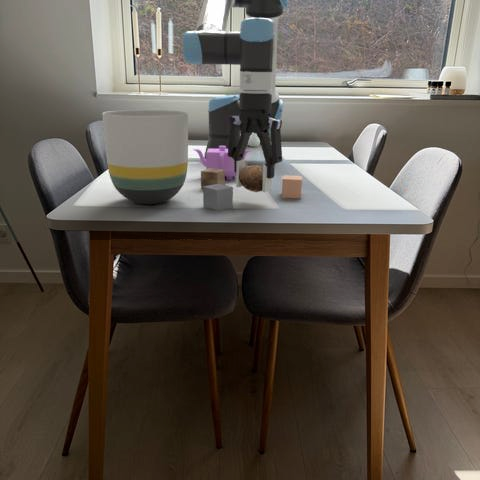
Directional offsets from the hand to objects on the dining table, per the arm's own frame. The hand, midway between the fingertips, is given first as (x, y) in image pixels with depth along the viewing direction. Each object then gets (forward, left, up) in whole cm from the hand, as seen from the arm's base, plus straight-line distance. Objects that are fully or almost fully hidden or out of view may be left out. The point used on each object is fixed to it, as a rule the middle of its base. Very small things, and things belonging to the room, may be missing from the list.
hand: (253, 188), depth 115 cm
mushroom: (0, 0, -1) cm, 1 cm away
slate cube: (-4, -9, -3) cm, 11 cm away
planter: (-20, -16, -4) cm, 26 cm away
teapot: (-25, +19, -4) cm, 31 cm away
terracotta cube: (+4, +12, -3) cm, 13 cm away
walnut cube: (-18, +6, -3) cm, 19 cm away
